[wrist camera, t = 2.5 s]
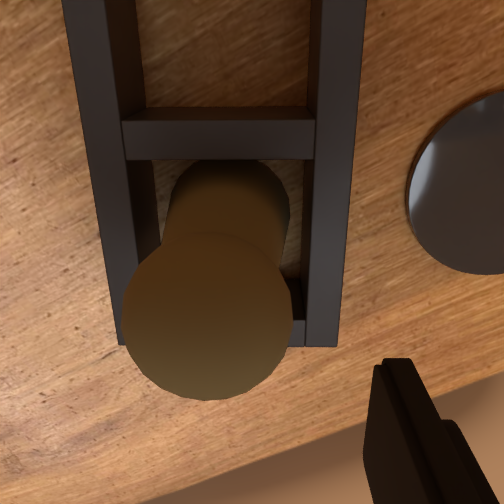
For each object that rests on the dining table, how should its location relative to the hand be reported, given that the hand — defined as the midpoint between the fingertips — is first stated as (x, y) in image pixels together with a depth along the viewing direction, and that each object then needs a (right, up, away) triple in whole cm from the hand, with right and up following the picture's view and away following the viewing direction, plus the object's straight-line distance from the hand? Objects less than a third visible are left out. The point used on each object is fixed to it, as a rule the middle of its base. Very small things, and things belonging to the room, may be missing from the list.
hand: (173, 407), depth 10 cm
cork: (+1, +6, +12) cm, 13 cm away
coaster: (+14, +7, +11) cm, 19 cm away
